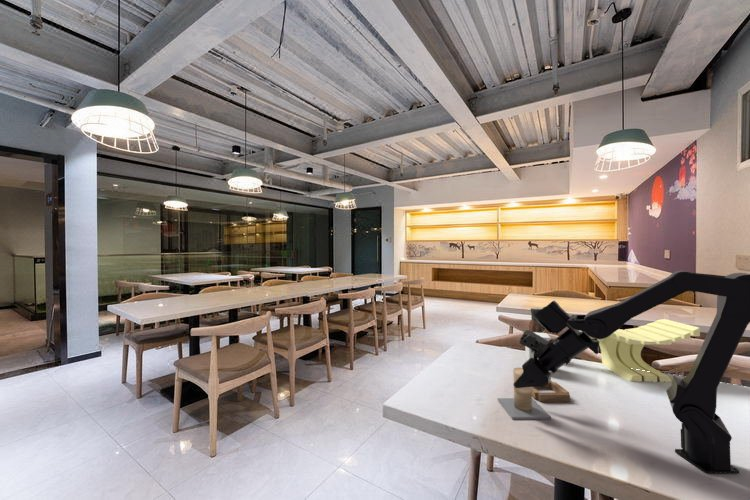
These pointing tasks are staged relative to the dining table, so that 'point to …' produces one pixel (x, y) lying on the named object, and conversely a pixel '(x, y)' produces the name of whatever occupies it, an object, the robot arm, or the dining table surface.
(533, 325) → the sauce bottle
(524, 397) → the oak peg
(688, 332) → the slatted curved stool
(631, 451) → the dining table surface
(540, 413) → the slate pad
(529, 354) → the supplement box
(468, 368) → the dining table surface
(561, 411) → the dining table surface
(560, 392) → the walnut frame
